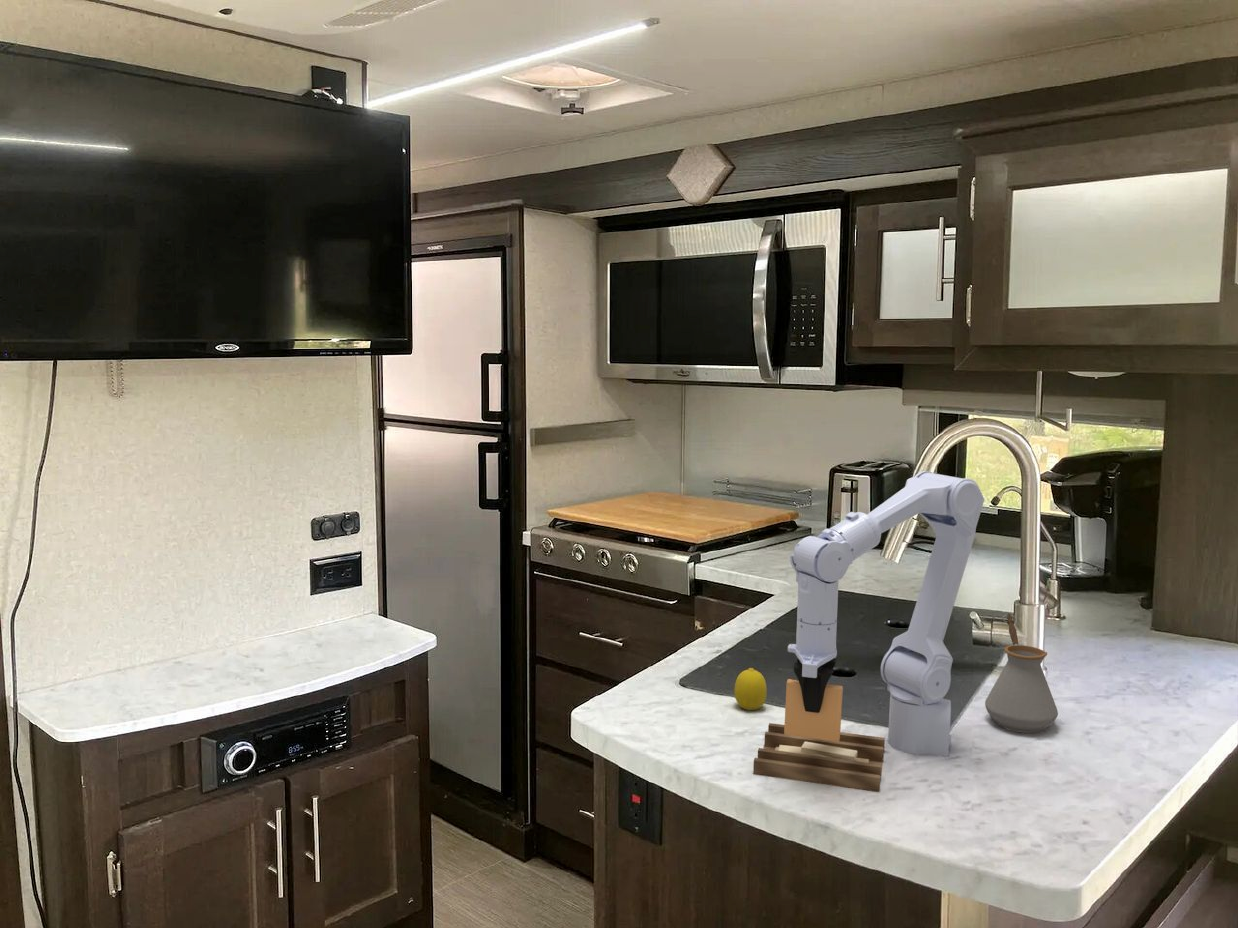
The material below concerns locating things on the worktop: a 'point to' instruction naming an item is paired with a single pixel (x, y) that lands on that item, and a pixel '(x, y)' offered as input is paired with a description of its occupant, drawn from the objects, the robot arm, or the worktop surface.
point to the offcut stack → (823, 751)
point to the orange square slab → (813, 714)
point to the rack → (822, 760)
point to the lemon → (750, 689)
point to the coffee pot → (1022, 690)
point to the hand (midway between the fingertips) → (813, 708)
